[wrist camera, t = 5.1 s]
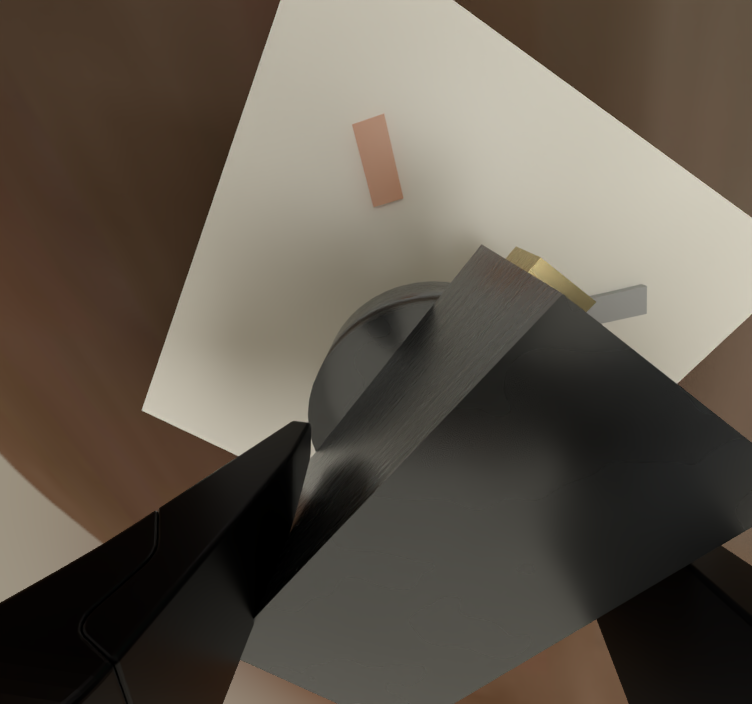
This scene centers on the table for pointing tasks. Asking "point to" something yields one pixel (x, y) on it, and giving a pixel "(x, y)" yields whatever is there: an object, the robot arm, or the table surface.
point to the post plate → (426, 209)
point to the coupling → (485, 488)
